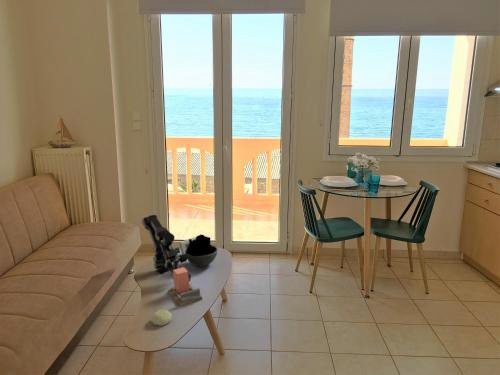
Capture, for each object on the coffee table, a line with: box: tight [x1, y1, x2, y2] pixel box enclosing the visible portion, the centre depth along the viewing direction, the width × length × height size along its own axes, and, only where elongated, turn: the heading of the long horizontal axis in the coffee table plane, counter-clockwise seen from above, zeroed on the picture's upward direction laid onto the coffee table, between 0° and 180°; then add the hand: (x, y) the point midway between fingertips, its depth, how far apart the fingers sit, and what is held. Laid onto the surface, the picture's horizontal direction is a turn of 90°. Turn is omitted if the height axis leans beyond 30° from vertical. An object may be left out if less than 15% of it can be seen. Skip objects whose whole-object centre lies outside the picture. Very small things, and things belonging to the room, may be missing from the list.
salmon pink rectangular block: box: [172, 266, 190, 293], centre depth 204 cm, size 6×6×11 cm
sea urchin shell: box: [150, 309, 173, 326], centre depth 179 cm, size 9×8×8 cm
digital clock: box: [179, 236, 196, 254], centre depth 255 cm, size 16×9×11 cm, turn 123°
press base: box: [167, 283, 203, 307], centre depth 201 cm, size 18×12×6 cm, turn 31°
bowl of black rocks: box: [185, 234, 218, 268], centre depth 237 cm, size 20×20×19 cm
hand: (175, 275), depth 210 cm, fingers closed
